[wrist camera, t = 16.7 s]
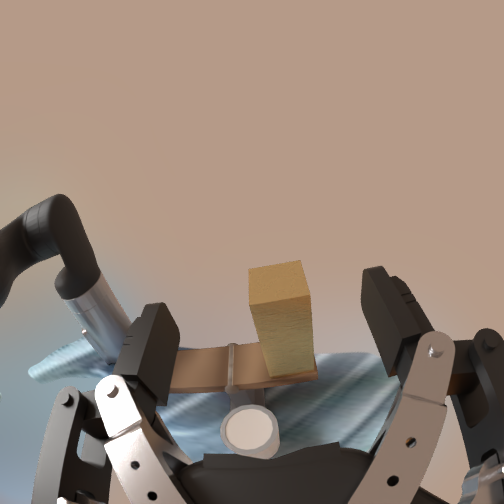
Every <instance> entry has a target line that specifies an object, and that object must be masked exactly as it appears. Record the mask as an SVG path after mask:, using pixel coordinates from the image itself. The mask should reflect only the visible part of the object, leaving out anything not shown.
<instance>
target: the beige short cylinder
mask: <svg viewBox="0 0 504 504" xmlns="http://www.w3.org/2000/svg"><path fill="white" fill-rule="evenodd" d="M220 433H221V438H222V440H223V442H224V444H225V446H227V447H228V448H229V449H231V450H232V451H233V452H235V453H237V454H239V455H244V456H249V457H255V458H261V459H269V458H271V457H273V456H274V454H275V453H276V452H277V451H278V448H279V445H280V440H279V429H278V422H277V419H276V417H275V416H274V415H273V413H272V412H271V411H270V410H268V409H266V408H265V407H263V406H259V405H253V404H250V405H243V406H240V407H238V408H236V409H234V410H232V411H231V412H230V413H229V414H228V415H227V416H226V417H225V418H224V419H223V422H222V424H221V427H220Z"/></svg>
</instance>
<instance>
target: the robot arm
mask: <svg viewBox="0 0 504 504" xmlns="http://www.w3.org/2000/svg"><path fill="white" fill-rule="evenodd" d="M58 254H60V255H61V257H62V259H63V262H64V264H65V267H64V268H63V269H62V270H61V271H60V272H59V274H58V275H57V277H56V279H55V288H56V290H57V292H58V293H59V295H60V296H61V298H62V299H63V301H64V302H65V304H66V305H67V307H68V308H69V310H70V311H71V313H72V314H73V315H74V317H75V318H76V320H77V321H78V322H79V324H80V325H81V327H82V333H83V335H84V337H85V338H86V339H87V340H88V342H89V343H90V344H91V345H92V347H93V348H94V349H95V350H96V352H97V353H98V354H99V355H100V356H101V357H102V359H103V360H104V361H105V362H106V363H107V364H110V363H116V365H115V367H114V370H113V373H112V375H110V376H107V377H105V378H104V379H102V380H101V382H100V383H99V384H98V386H97V388H96V390H92V391H87V392H84V393H81V392H80V391H78V390H77V389H76V388H75V387H73V386H68V387H65V388H63V389H62V390H61V391H60V392H59V393H58V395H57V397H56V400H55V402H54V405H53V408H52V412H51V415H50V418H49V421H48V425H47V428H46V432H45V436H44V439H43V443H42V447H41V451H40V456H39V460H38V466H37V470H36V476H35V481H34V487H33V494H32V502H31V504H108V501H109V489H110V481H111V472H112V466H113V468H114V470H115V472H116V474H117V477H118V479H119V481H120V483H121V485H122V487H123V489H124V491H125V493H126V495H127V497H128V499H129V500H130V502H131V504H449V503H447V502H446V501H444V500H442V499H440V498H438V497H437V496H435V495H433V494H432V493H430V492H428V491H427V490H425V489H423V488H421V487H420V486H419V485H420V483H421V481H422V479H423V477H424V475H425V472H426V470H427V468H428V466H429V463H430V460H431V458H432V455H433V453H434V450H435V448H436V445H437V442H438V439H439V436H440V434H441V430H442V427H443V424H444V421H445V417H446V413H447V406H446V405H445V398H446V396H448V395H450V397H451V400H452V403H453V406H454V409H455V412H456V415H457V419H458V422H459V425H460V429H461V432H462V436H463V440H464V443H465V448H466V452H467V456H468V461H469V465H470V470H469V472H468V473H467V475H466V476H465V478H464V481H463V484H462V491H463V492H462V496H461V499H460V502H459V503H458V504H504V340H503V339H502V337H501V336H500V335H499V333H497V332H496V331H494V330H492V329H488V328H485V329H481V330H479V331H478V332H477V333H476V335H475V337H474V339H473V340H460V341H452V339H451V338H450V337H449V336H448V335H446V334H444V333H442V332H438V331H435V330H434V329H433V327H432V326H431V323H430V322H429V320H428V318H427V317H426V315H425V313H424V312H423V310H422V308H421V307H420V305H419V303H418V302H416V299H415V297H414V296H413V294H411V291H410V289H409V288H408V286H407V285H406V283H405V282H404V281H402V280H401V279H399V278H398V277H397V276H392V277H389V275H388V274H387V272H386V270H385V269H384V267H382V266H378V267H372V268H367V269H364V270H363V276H362V290H361V306H362V310H363V313H364V316H365V318H366V320H367V323H368V325H369V328H370V330H371V333H372V335H373V338H374V340H375V343H376V345H377V348H378V350H379V353H380V356H381V359H382V361H383V364H384V367H385V369H386V372H387V375H388V377H391V376H395V375H398V378H399V381H400V386H399V388H398V391H397V394H396V396H395V399H394V401H393V403H392V406H391V408H390V411H389V413H388V415H387V417H386V420H385V422H384V424H383V426H382V428H381V430H380V432H379V433H378V435H377V437H376V439H375V441H374V443H373V445H372V447H371V449H370V450H369V452H368V453H367V452H364V451H362V450H357V449H353V448H340V445H339V442H335V443H330V444H325V445H319V446H313V447H307V448H303V449H301V450H298V451H295V452H292V453H290V454H287V455H284V456H281V457H278V458H275V459H270V460H268V459H261V458H255V457H249V456H244V455H239V454H204V458H203V460H201V461H198V462H195V463H193V462H192V461H191V460H190V459H189V457H188V456H187V455H186V454H185V453H184V452H183V451H182V450H181V449H180V448H179V446H178V445H177V443H176V442H175V440H174V439H173V437H172V436H171V434H170V432H169V431H168V429H167V427H166V426H165V424H164V422H163V421H162V419H161V417H160V415H159V414H158V413H157V412H156V411H155V410H156V406H167V401H168V395H169V390H170V385H171V380H172V375H173V370H174V365H175V361H176V356H177V351H178V347H179V342H180V333H179V329H178V327H177V325H176V323H175V321H174V319H173V317H172V316H171V314H170V312H169V310H168V308H167V306H166V304H165V303H163V302H161V303H153V304H147V305H145V307H144V309H143V312H142V314H141V317H137V318H136V320H135V321H134V322H133V323H131V321H130V320H129V318H128V316H127V315H126V313H125V312H124V310H123V308H122V307H121V305H120V304H119V302H118V301H117V299H116V297H115V295H114V294H113V292H112V290H111V288H110V287H109V285H108V283H107V282H106V280H105V278H104V276H103V274H102V272H101V271H100V269H99V267H98V265H97V262H96V258H95V255H94V252H93V249H92V247H91V244H90V242H89V240H88V238H87V235H86V233H85V230H84V228H83V225H82V223H81V220H80V217H79V215H78V212H77V210H76V208H75V206H74V204H73V203H72V201H71V200H70V199H69V198H68V197H66V196H65V195H63V194H57V195H54V196H52V197H50V198H48V199H46V200H44V201H42V202H40V203H38V204H37V205H35V206H33V207H31V208H29V209H28V210H27V211H25V212H24V213H23V214H21V215H20V216H19V217H17V218H16V219H15V220H14V221H12V222H11V223H9V224H8V225H7V226H5V227H4V228H2V229H1V230H0V308H1V307H2V305H3V304H4V302H5V301H6V299H7V297H8V294H9V292H10V289H11V286H12V284H13V281H14V280H15V278H16V277H17V276H18V275H19V274H21V273H22V272H23V271H24V270H26V269H28V268H29V267H30V266H32V265H34V264H36V263H38V262H40V261H43V260H46V259H48V258H51V257H53V256H56V255H58ZM81 430H83V431H84V432H86V435H85V440H84V445H83V450H82V455H81V459H80V458H79V457H78V455H77V446H78V441H79V437H80V432H81Z"/></svg>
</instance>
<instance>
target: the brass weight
mask: <svg viewBox="0 0 504 504" xmlns="http://www.w3.org/2000/svg"><path fill="white" fill-rule="evenodd" d="M249 306H250V310H251V313H252V316H253V320H254V324H255V327H256V331H257V334H258V338H259V341H260V345H261V348H262V352H263V355H264V358H265V362H266V365H267V369H268V372H269V376H270V379H271V378H279V377H285V376H292V375H298V374H304V373H309V372H314V348H313V329H312V312H311V298H310V292H309V289H308V285H307V282H306V278H305V275H304V271H303V268H302V265H301V261H300V260H298V261H293V262H287V263H282V264H276V265H270V266H264V267H259V268H252V269H249Z"/></svg>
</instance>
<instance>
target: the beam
mask: <svg viewBox="0 0 504 504" xmlns="http://www.w3.org/2000/svg"><path fill="white" fill-rule="evenodd" d="M317 379H318V371H317V366H316V362H315V357H314V372H309V373H304V374H298V375H292V376H285V377H279V378H271V379H270V376H269V372H268V369H267V365H266V362H265V358H264V355H263V352H262V348H261V345H260V342H257V343H250V344H242V345H238V344H235V343H230V344H228V346H225V347H216V348H205V349H193V350H180V351H177V356H176V361H175V365H174V370H173V375H172V380H171V385H170V390H169V393H209V392H226V393H229V394H236V393H238V392H239V390H250V389H259V388H267V387H275V386H282V385H289V384H295V383H301V382H307V381H312V380H317Z"/></svg>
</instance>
